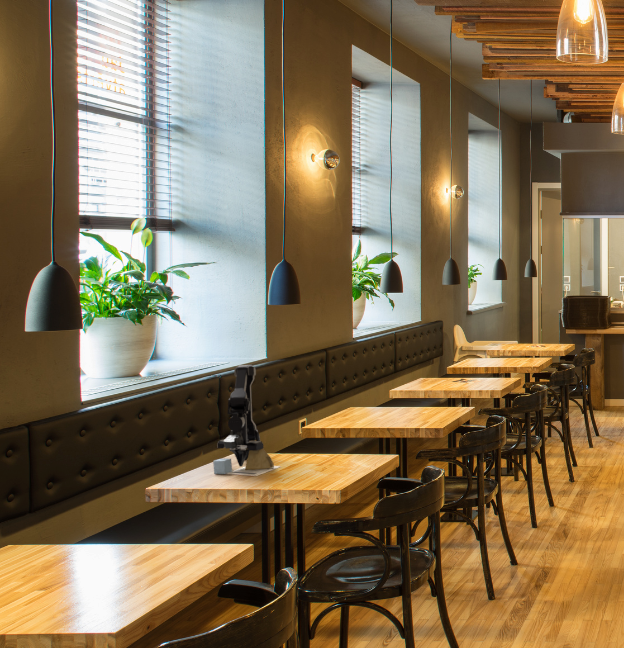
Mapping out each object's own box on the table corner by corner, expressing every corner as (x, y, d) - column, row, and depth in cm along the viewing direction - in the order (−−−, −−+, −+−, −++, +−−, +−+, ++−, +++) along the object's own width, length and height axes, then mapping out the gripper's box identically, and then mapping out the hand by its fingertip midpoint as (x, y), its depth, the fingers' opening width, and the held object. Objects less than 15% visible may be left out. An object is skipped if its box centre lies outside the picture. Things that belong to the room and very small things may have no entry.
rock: (280, 460, 321) (259, 455, 326) (274, 445, 316) (253, 441, 320) (267, 481, 314) (246, 475, 319) (261, 466, 309) (239, 461, 314)
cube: (221, 471, 318) (220, 458, 318) (232, 471, 315) (231, 458, 315) (214, 473, 313) (213, 460, 313) (224, 473, 311) (223, 461, 311)
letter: (251, 464, 328) (251, 464, 328) (280, 466, 321) (280, 466, 321) (225, 473, 312) (225, 473, 312) (256, 476, 305) (256, 475, 305)
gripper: (208, 429, 317) (209, 468, 317) (247, 431, 308) (249, 472, 308) (224, 425, 326) (226, 463, 327) (263, 427, 317) (264, 466, 318)
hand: (240, 466), depth 320 cm, fingers closed
